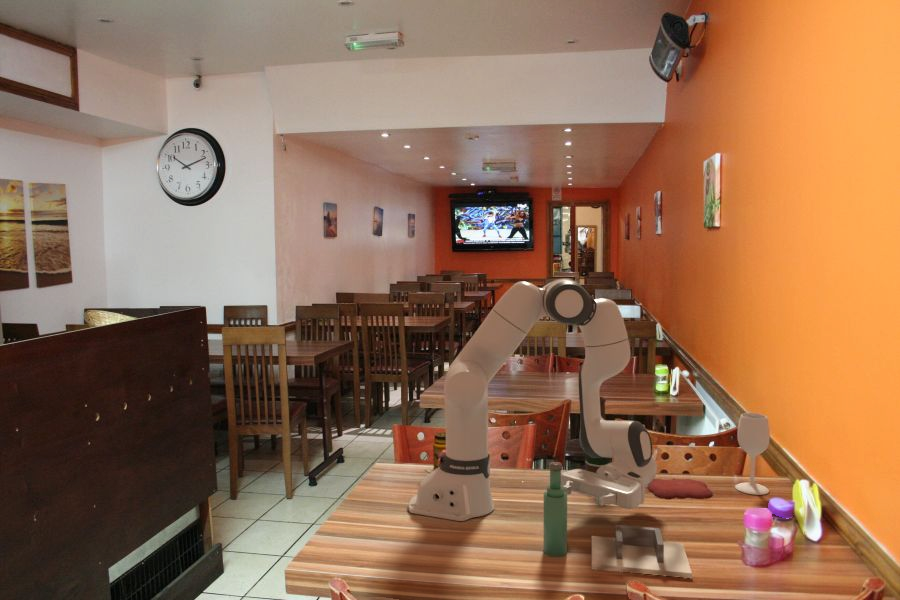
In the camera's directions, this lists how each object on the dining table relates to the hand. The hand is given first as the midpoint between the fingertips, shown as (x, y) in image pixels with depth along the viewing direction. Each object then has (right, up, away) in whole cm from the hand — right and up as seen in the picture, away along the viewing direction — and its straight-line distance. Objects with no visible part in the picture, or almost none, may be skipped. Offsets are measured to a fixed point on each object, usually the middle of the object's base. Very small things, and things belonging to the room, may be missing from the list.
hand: (581, 496), depth 152 cm
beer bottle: (+14, -7, +41) cm, 44 cm away
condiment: (-33, -7, +47) cm, 58 cm away
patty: (+34, -8, +31) cm, 47 cm away
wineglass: (+54, -8, +31) cm, 63 cm away
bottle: (-7, -10, -6) cm, 14 cm away
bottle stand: (+11, -11, -10) cm, 18 cm away
